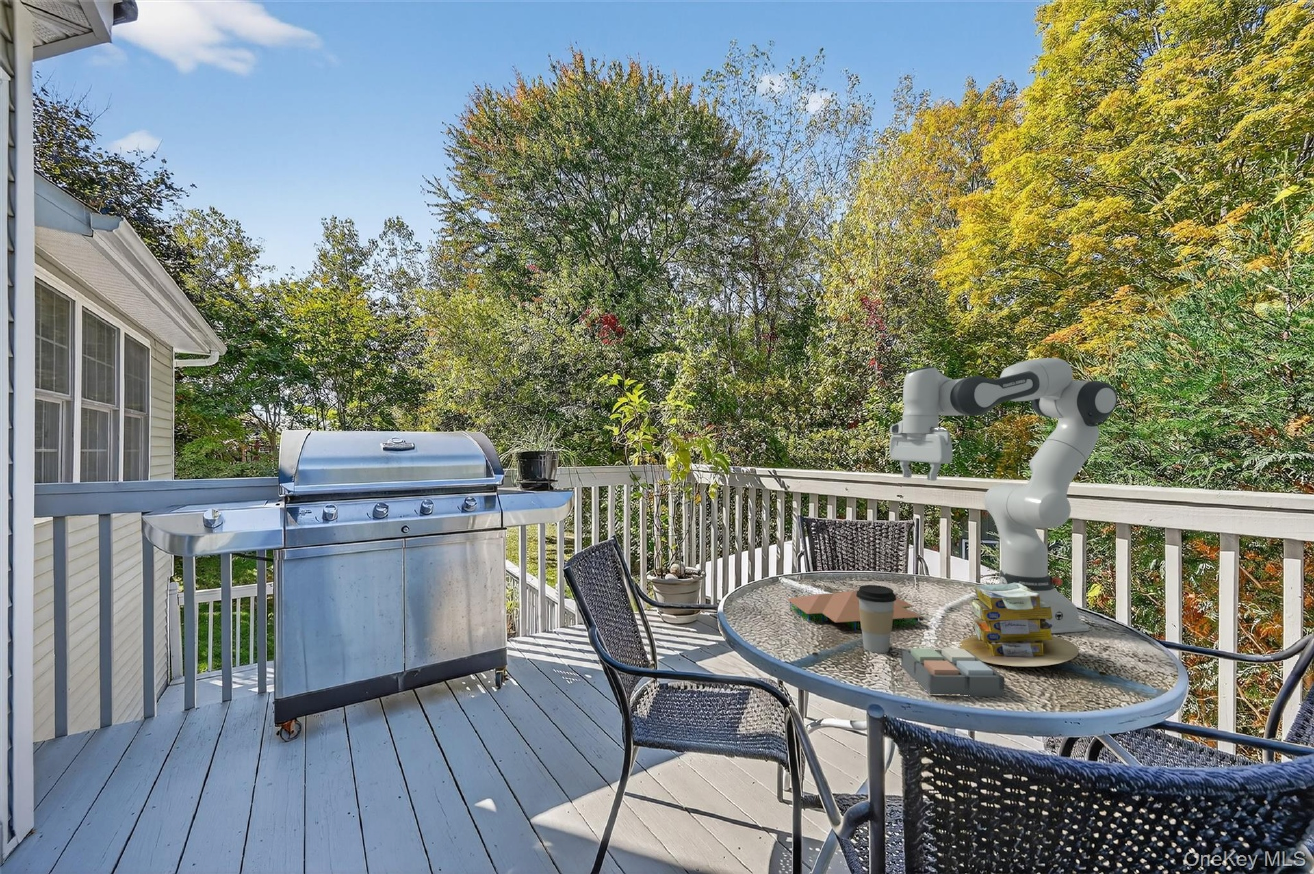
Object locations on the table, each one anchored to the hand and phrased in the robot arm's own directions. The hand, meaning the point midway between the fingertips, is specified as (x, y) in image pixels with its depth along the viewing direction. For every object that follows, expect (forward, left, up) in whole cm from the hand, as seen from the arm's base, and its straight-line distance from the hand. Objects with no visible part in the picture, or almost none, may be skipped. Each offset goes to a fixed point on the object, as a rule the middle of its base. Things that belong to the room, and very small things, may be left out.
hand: (919, 478), depth 156 cm
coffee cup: (+15, +11, -42) cm, 46 cm away
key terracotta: (+9, +33, -39) cm, 52 cm away
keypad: (+6, +30, -42) cm, 52 cm away
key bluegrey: (+2, +33, -39) cm, 51 cm away
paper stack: (-18, +14, -42) cm, 48 cm away
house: (+12, -14, -42) cm, 46 cm away
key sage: (+9, +26, -39) cm, 48 cm away
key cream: (+2, +26, -39) cm, 47 cm away
